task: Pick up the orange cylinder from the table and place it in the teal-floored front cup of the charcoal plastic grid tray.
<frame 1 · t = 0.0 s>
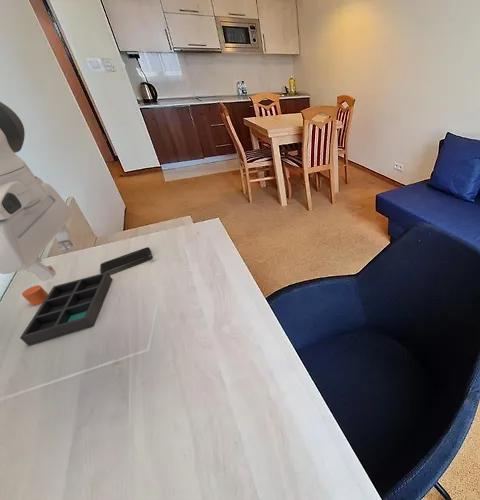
hand: (60, 262, 54), 28 cm above the table, tool pointing down, fingers open, 8 cm apart
grid: (75, 308, 86), on the table
orange cylinder: (40, 300, 91), on the table
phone: (127, 262, 104), on the table
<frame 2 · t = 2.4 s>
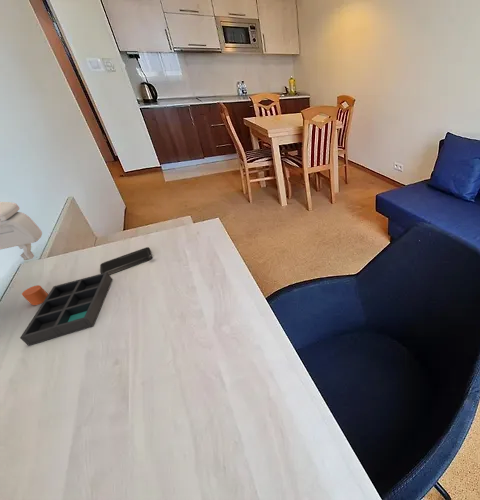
hand: (8, 263, 78), 16 cm above the table, tool pointing down, fingers open, 8 cm apart
nothing on the table moved.
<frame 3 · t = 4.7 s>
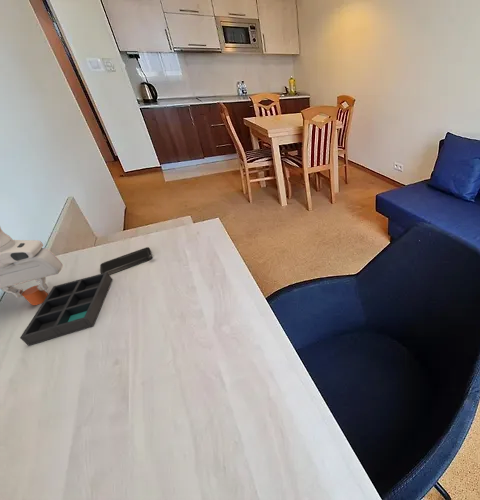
hand: (33, 292, 89), 3 cm above the table, tool pointing down, fingers closed on orange cylinder, 4 cm apart
orange cylinder: (40, 300, 91), on the table, touching gripper
everything else where it was.
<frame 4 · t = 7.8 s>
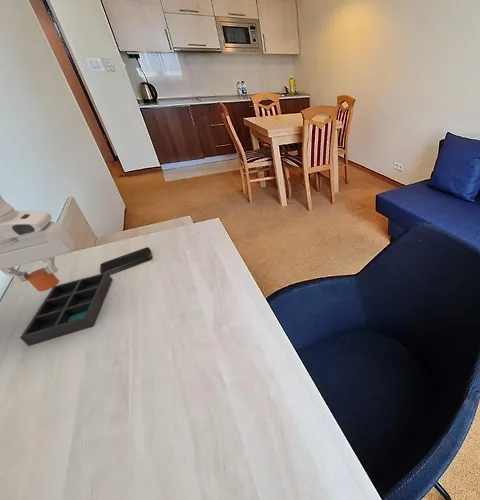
hand: (40, 276, 74), 15 cm above the table, tool pointing down, fingers closed on orange cylinder, 4 cm apart
orange cylinder: (48, 285, 76), point 12 cm above the table, touching gripper
everything else where it was.
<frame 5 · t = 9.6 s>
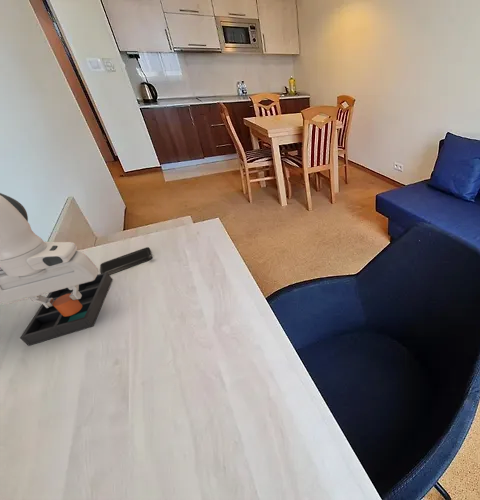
hand: (65, 301, 78), 7 cm above the table, tool pointing down, fingers closed on orange cylinder, 4 cm apart
orange cylinder: (72, 310, 80), point 4 cm above the table, touching gripper
everything else where it was.
when the fingers open (4 cm above the table, at t = 10.8 s): orange cylinder stays where it is, resting on grid.
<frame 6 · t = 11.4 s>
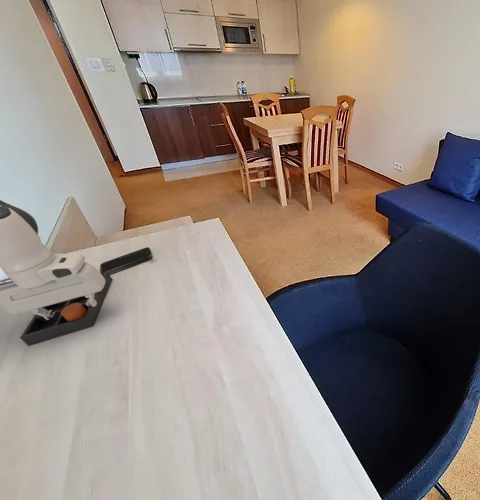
hand: (72, 311, 80), 4 cm above the table, tool pointing down, fingers open, 8 cm apart
orange cylinder: (80, 319, 82), point 1 cm above the table, touching grid
everything else where it was.
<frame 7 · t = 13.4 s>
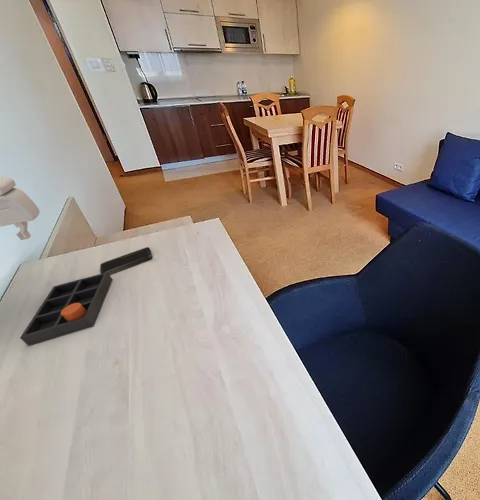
hand: (3, 242, 74), 23 cm above the table, tool pointing down, fingers open, 8 cm apart
nothing on the table moved.
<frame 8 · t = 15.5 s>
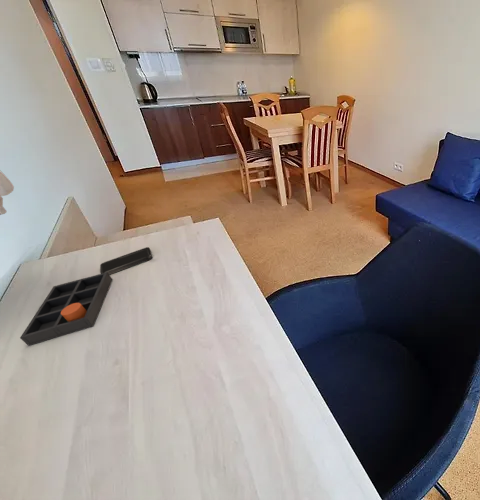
nothing on the table moved.
at the end: orange cylinder 0.1 cm from the target spot in the grid, point 0.8 cm above the grid's base; orange cylinder tilted 0°; the gripper is holding nothing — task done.
